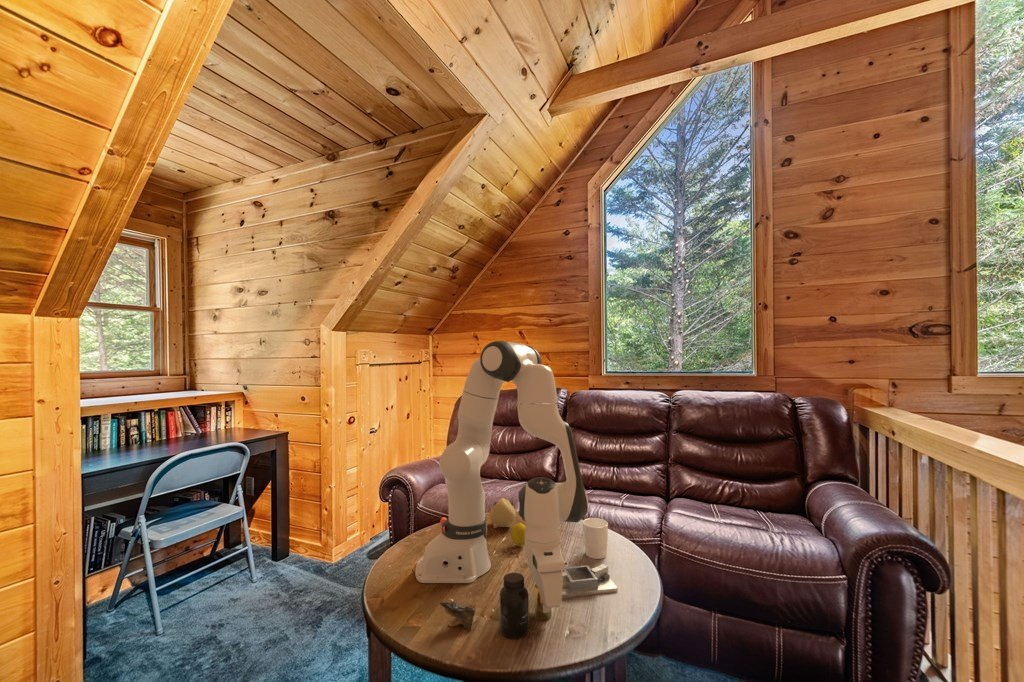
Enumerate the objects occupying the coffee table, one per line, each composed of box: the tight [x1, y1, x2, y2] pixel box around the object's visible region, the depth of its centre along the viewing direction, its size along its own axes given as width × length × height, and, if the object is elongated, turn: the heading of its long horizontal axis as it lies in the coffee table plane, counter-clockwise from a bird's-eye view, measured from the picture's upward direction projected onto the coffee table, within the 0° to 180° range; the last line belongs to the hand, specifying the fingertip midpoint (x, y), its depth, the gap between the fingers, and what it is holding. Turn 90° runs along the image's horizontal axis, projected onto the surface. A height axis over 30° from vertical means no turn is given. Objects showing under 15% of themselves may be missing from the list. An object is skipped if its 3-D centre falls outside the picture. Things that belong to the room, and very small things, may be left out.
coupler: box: [534, 584, 552, 621], centre depth 102 cm, size 4×4×7 cm
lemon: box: [510, 521, 526, 547], centre depth 139 cm, size 6×6×8 cm
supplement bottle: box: [498, 572, 530, 640], centre depth 97 cm, size 7×7×12 cm
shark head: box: [439, 601, 476, 633], centre depth 99 cm, size 8×6×7 cm
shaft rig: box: [562, 563, 618, 599], centre depth 115 cm, size 18×9×4 cm, turn 100°
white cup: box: [582, 517, 609, 560], centre depth 133 cm, size 8×8×10 cm
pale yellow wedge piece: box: [488, 497, 517, 529], centre depth 155 cm, size 10×12×11 cm
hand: (543, 604), depth 102 cm, fingers closed on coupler, 4 cm apart
